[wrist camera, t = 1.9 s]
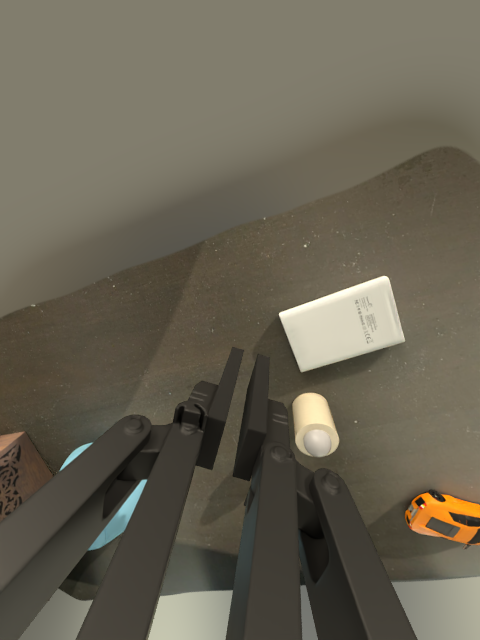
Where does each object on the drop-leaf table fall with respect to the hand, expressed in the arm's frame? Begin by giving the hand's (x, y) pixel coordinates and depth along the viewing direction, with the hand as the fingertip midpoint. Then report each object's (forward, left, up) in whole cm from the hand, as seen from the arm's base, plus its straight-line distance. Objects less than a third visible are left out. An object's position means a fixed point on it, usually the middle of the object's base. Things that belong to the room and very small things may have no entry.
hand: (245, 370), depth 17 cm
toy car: (+13, +41, -17) cm, 46 cm away
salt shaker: (+9, +14, -16) cm, 23 cm away
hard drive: (-3, +10, -17) cm, 19 cm away
